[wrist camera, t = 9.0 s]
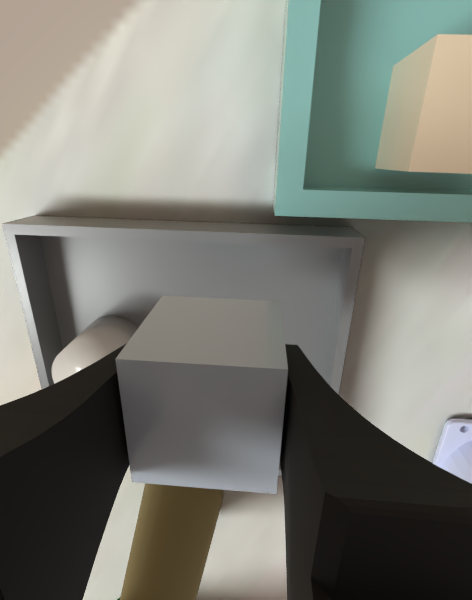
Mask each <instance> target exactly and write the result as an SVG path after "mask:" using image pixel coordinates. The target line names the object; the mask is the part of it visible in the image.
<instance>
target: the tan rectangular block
mask: <svg viewBox="0 0 472 600" xmlns="http://www.w3.org/2000/svg"><path fill="white" fill-rule="evenodd" d="M375 168H377V169H387V170H398V171H408V172H435V173H463V174H472V35H460V34H437V35H436V36H434V37H433V38H432V39H430V40H429V41H427V42H426V43H425V44H423V45H422V46H420V47H419V48H418V49H416V50H415V51H414V52H412V53H411V54H409V55H408V56H407V57H405V58H404V59H402V60H401V61H400V62H398V63H397V64H395V65H394V66H393V70H392V75H391V81H390V87H389V92H388V98H387V103H386V109H385V115H384V120H383V126H382V132H381V137H380V143H379V148H378V154H377V160H376V165H375Z"/></svg>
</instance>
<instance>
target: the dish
mask: <svg viewBox="0 0 472 600" xmlns="http://www.w3.org/2000/svg"><path fill="white" fill-rule="evenodd" d="M437 34H460V35H472V0H286V10H285V26H284V42H283V58H282V74H281V89H280V105H279V121H278V137H277V153H276V169H275V185H274V200H273V209H274V215H275V216H297V217H325V218H353V219H381V220H410V221H438V222H466V223H472V174H463V173H435V172H408V171H398V170H387V169H377V168H375V165H376V160H377V154H378V148H379V143H380V137H381V132H382V126H383V120H384V115H385V109H386V103H387V98H388V92H389V87H390V81H391V75H392V70H393V66H394V65H395V64H397V63H398V62H400V61H401V60H402V59H404V58H405V57H407V56H408V55H409V54H411V53H412V52H414V51H415V50H416V49H418V48H419V47H420V46H422V45H423V44H425V43H426V42H427V41H429V40H430V39H432V38H433V37H434V36H436V35H437Z"/></svg>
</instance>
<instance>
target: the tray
mask: <svg viewBox="0 0 472 600" xmlns="http://www.w3.org/2000/svg"><path fill="white" fill-rule="evenodd" d="M2 226H3V230H4V234H5V238H6V242H7V247H8V251H9V255H10V259H11V263H12V267H13V272H14V276H15V280H16V284H17V288H18V292H19V297H20V301H21V305H22V309H23V313H24V317H25V322H26V326H27V330H28V334H29V338H30V342H31V347H32V351H33V355H34V359H35V363H36V367H37V372H38V376H39V380H40V384H41V388H42V389H44V388H46V387H48V386H51V385H53V384H54V381H53V378H52V364H53V362H54V360H55V358H56V357H57V355H58V354H59V353H60V352H61V351H62V350H63V349H64V348H65V347H67V346H68V345H69V344H70V343H71V342H72V341H73V340H74V339H75V338H76V337H77V336H78V335H79V334H80V333H81V332H82V331H83V330H84V329H85V328H87V327H88V326H89V325H90V324H91V323H92V322H93V321H94V320H96V319H98V318H100V317H103V316H109V315H114V316H120V317H123V318H126V319H128V320H130V321H132V322H134V323H135V324H136V325H137V326H139V327H140V325H141V324H142V322H143V321H144V320H145V318H146V317H147V316H148V314H149V313H150V312H151V310H152V309H153V308H154V306H155V305H156V304H157V302H158V301H159V300H160V298H161V297H162V296H182V297H203V298H224V299H245V300H266V301H280V303H281V311H282V320H283V329H284V338H285V344H291V345H298V346H299V347H300V348H301V350H302V351H303V353H304V354H305V356H306V357H307V358H308V360H309V361H310V362H311V364H312V365H313V366H314V368H315V369H316V370H317V371H318V372H319V374H320V375H321V376H322V377H323V378H324V380H325V381H326V382H327V383H328V384H329V385H330V386H331V388H332V389H333V390H334V391H335V392H336V393H337V394H338V395H339V389H340V383H341V377H342V371H343V365H344V360H345V354H346V348H347V342H348V336H349V330H350V324H351V319H352V313H353V307H354V301H355V295H356V289H357V283H358V277H359V272H360V266H361V260H362V254H363V248H364V242H365V237H364V236H362V235H361V234H360V233H359V232H357V231H356V230H355V229H354V228H352V227H331V226H304V225H277V224H250V223H223V222H196V221H169V220H142V219H114V218H87V217H60V216H31V217H27V218H23V219H19V220H15V221H11V222H7V223H3V224H2ZM278 476H282V473H281V466H280V462H279V473H278Z"/></svg>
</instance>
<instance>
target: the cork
mask: <svg viewBox="0 0 472 600" xmlns="http://www.w3.org/2000/svg"><path fill="white" fill-rule="evenodd" d="M222 499H223V491H222V490H220V489H208V488H196V487H184V486H172V485H160V484H147V483H145V488H144V492H143V497H142V501H141V506H140V511H139V515H138V520H137V524H136V529H135V533H134V538H133V543H132V547H131V552H130V556H129V561H128V566H127V570H126V575H125V579H124V584H123V589H122V593H121V598H120V600H196V597H197V593H198V589H199V586H200V582H201V578H202V574H203V571H204V567H205V563H206V559H207V556H208V552H209V548H210V545H211V541H212V537H213V533H214V530H215V526H216V522H217V519H218V515H219V511H220V507H221V504H222Z"/></svg>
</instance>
